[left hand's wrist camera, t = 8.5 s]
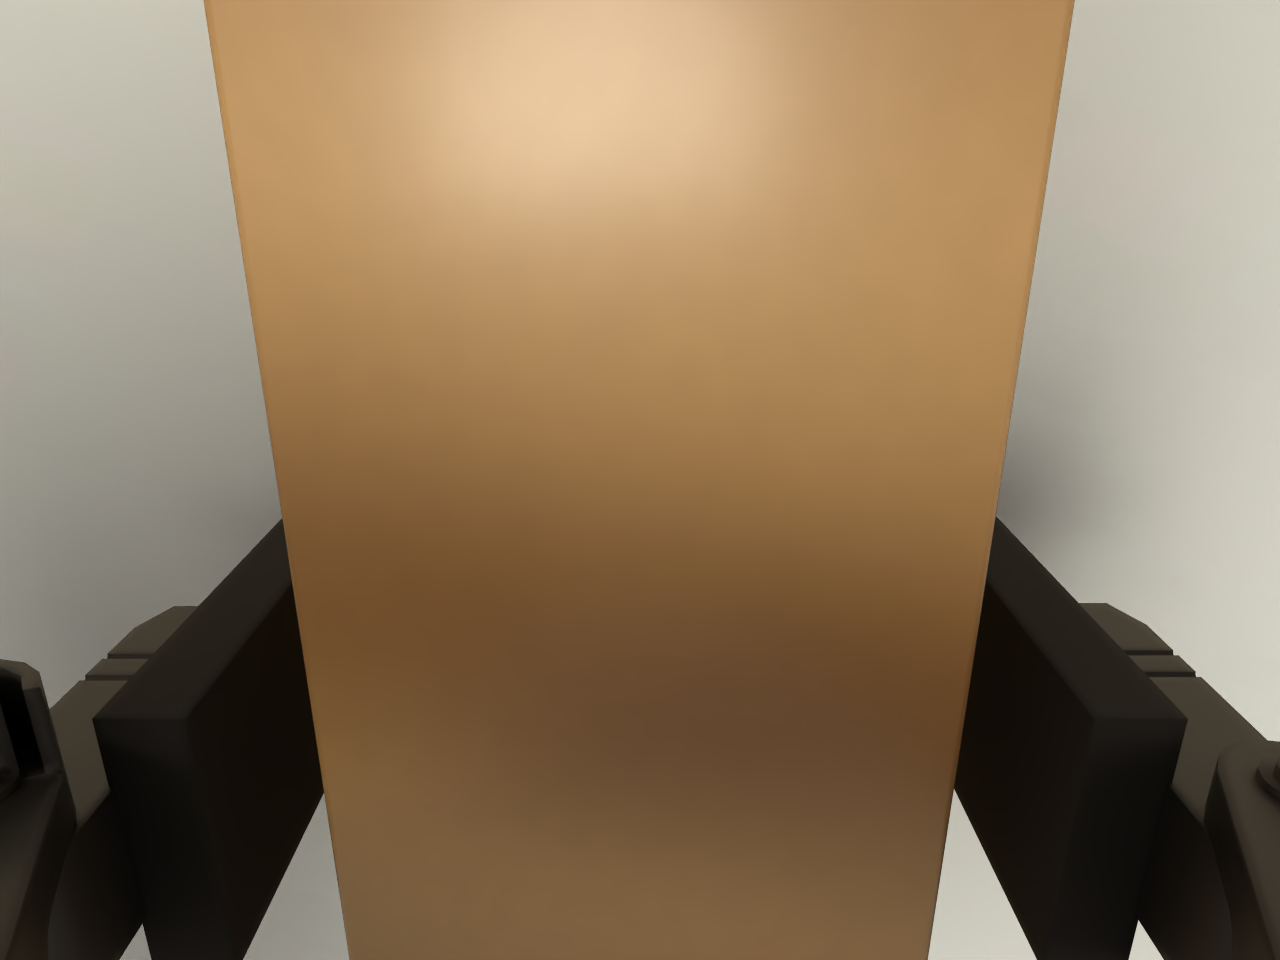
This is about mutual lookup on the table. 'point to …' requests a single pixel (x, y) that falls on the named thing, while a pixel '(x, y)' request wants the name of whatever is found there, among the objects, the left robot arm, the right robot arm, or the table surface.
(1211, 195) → the table surface
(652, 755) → the beam
